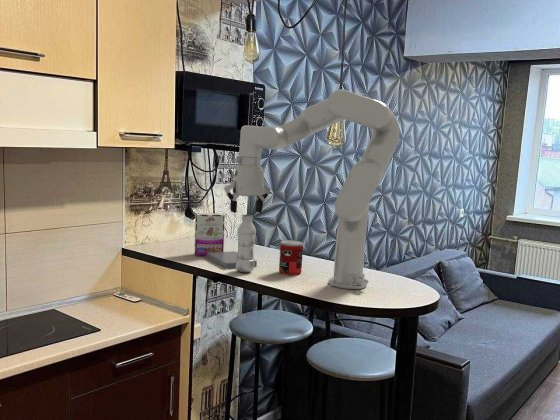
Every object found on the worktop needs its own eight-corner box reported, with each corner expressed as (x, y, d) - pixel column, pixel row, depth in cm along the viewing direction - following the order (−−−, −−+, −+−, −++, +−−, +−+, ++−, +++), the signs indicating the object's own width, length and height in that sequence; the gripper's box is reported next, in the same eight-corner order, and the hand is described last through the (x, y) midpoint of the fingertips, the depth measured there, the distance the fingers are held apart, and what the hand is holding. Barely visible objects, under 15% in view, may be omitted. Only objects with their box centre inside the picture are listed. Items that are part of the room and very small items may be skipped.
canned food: (275, 270, 194) (277, 240, 193) (296, 269, 197) (298, 240, 196) (283, 275, 187) (284, 244, 186) (304, 275, 190) (306, 244, 189)
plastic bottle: (231, 271, 190) (233, 214, 187) (246, 268, 194) (249, 213, 192) (242, 275, 185) (245, 217, 182) (257, 272, 189) (260, 216, 187)
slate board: (256, 266, 199) (256, 261, 199) (226, 268, 193) (226, 263, 192) (234, 256, 214) (234, 251, 214) (206, 258, 208) (206, 252, 208)
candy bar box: (221, 253, 217) (223, 213, 215) (223, 256, 213) (225, 214, 211) (193, 253, 215) (195, 212, 213) (194, 256, 210) (196, 214, 208)
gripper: (231, 162, 177) (228, 214, 179) (277, 164, 186) (273, 213, 188) (221, 160, 184) (218, 210, 186) (266, 162, 192) (262, 210, 195)
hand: (246, 212), depth 187 cm, fingers open, 9 cm apart
